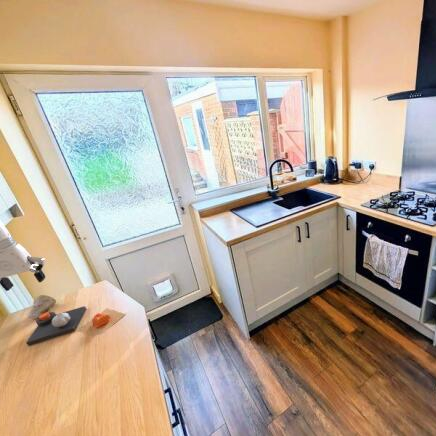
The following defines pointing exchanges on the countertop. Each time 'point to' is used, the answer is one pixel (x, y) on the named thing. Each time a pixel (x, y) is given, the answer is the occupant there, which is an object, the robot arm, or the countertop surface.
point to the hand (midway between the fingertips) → (26, 284)
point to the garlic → (60, 320)
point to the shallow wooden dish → (101, 322)
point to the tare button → (44, 316)
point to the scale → (49, 331)
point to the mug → (41, 306)
